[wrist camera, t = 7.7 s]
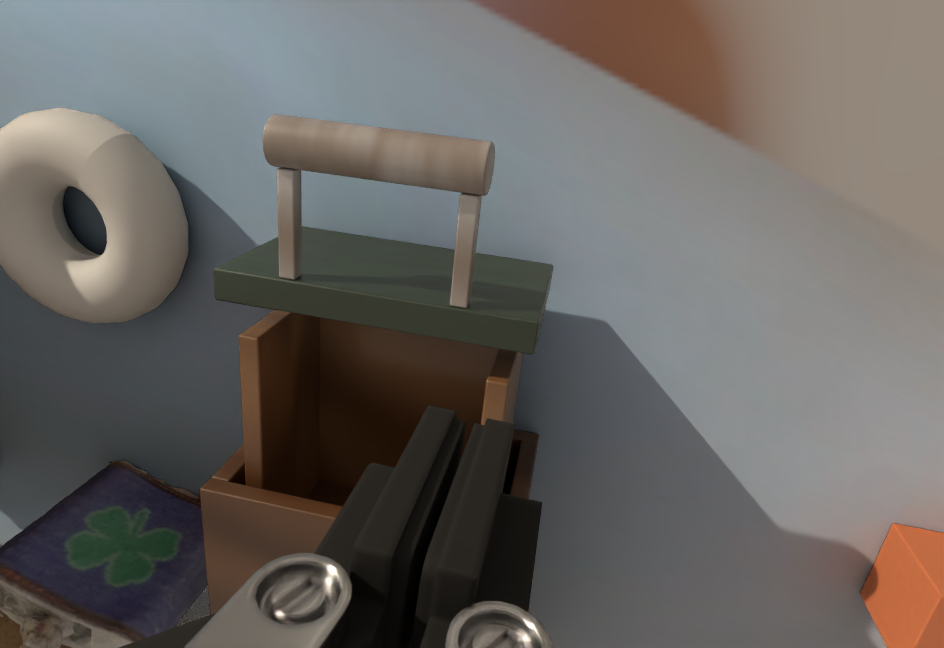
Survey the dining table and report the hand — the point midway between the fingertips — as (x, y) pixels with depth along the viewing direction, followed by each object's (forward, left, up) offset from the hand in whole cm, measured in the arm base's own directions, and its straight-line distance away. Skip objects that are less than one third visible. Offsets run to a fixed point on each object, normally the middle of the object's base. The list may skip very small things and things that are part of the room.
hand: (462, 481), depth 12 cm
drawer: (+4, -5, -16) cm, 17 cm away
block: (+12, +20, -17) cm, 29 cm away
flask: (+18, -19, -17) cm, 31 cm away
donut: (+1, -21, -17) cm, 27 cm away
